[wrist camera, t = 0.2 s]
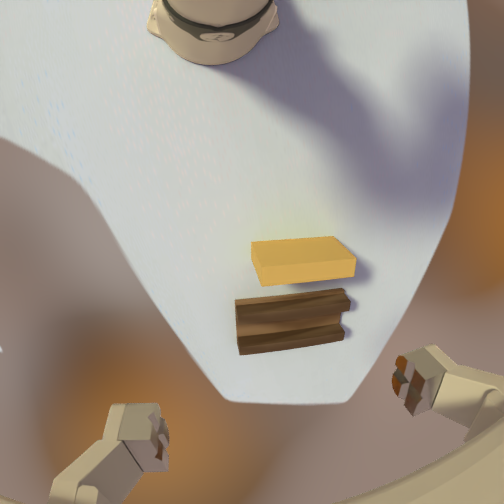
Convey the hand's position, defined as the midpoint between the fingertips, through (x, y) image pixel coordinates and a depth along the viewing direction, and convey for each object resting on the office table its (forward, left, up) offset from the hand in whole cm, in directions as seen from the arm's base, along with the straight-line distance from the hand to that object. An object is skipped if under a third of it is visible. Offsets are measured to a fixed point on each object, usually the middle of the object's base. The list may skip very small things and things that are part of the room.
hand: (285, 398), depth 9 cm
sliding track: (+26, +12, -39) cm, 48 cm away
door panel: (+12, +12, -39) cm, 42 cm away
